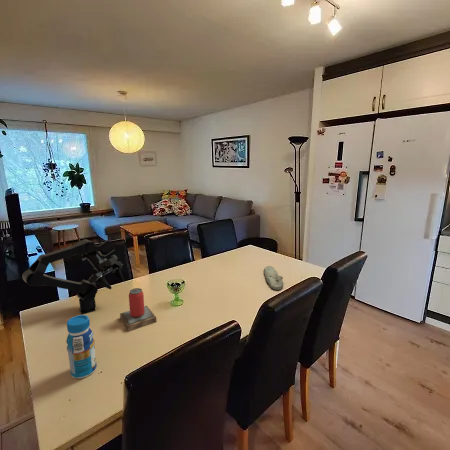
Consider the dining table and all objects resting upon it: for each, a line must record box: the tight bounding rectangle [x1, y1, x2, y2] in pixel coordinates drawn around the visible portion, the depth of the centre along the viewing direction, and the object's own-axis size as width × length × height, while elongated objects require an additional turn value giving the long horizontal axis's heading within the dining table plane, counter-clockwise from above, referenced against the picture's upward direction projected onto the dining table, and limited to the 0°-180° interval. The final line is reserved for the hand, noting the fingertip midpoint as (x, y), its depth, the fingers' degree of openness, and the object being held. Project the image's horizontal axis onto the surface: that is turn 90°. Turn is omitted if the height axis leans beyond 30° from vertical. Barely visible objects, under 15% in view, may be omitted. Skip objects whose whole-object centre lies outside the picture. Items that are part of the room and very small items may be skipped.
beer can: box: [128, 287, 145, 317], centre depth 124 cm, size 7×7×12 cm
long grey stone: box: [263, 265, 284, 291], centre depth 173 cm, size 35×5×10 cm
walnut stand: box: [119, 305, 157, 332], centre depth 126 cm, size 13×13×3 cm
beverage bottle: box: [65, 314, 97, 379], centre depth 92 cm, size 8×8×20 cm
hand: (117, 284), depth 132 cm, fingers open, 9 cm apart
